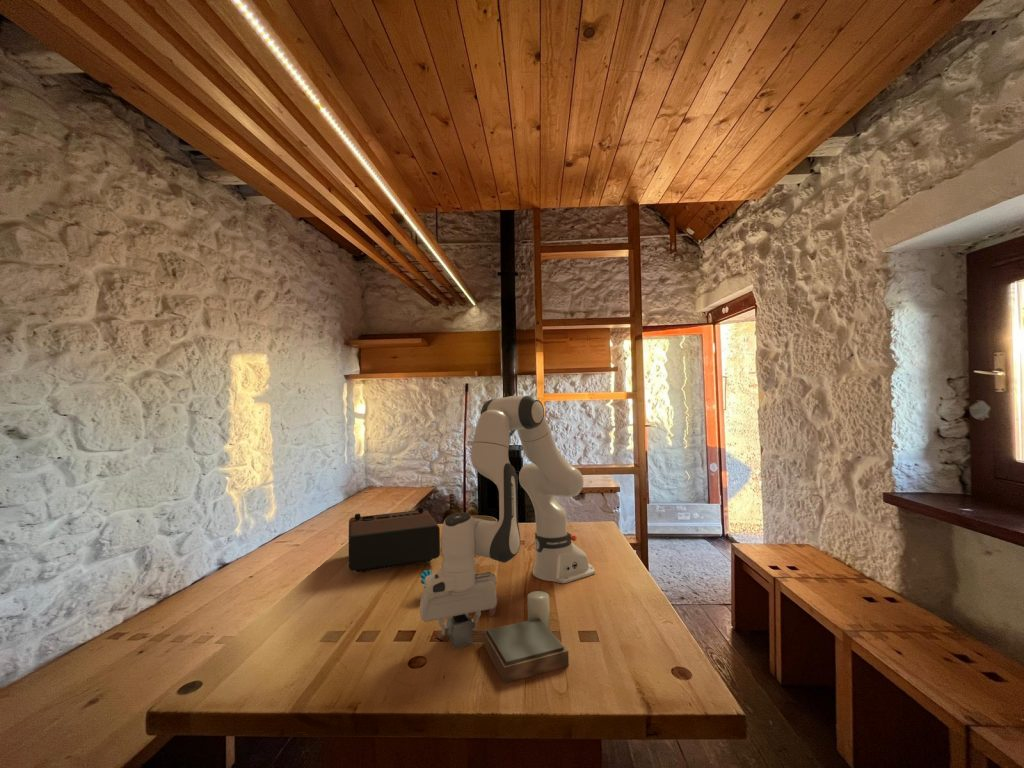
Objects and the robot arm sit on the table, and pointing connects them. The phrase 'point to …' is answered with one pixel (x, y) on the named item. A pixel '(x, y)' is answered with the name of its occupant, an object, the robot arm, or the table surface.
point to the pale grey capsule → (539, 607)
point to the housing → (460, 631)
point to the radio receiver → (392, 540)
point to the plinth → (524, 649)
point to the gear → (425, 575)
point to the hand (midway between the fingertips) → (459, 630)
